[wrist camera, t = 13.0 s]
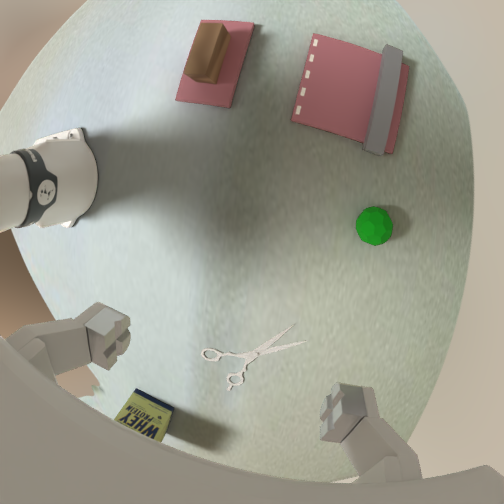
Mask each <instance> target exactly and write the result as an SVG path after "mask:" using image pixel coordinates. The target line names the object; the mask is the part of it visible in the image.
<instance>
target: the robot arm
mask: <svg viewBox="0 0 504 504" xmlns="http://www.w3.org/2000/svg"><path fill="white" fill-rule="evenodd" d="M72 135H73V136H72ZM97 181H98V173H97V165H96V161H95V158H94V155H93V153H92V151H91V149H90V148H89V147H88V145H87V144H86V142H85V139H84V135H83V132H82V130H81V128H74V129H71V130H67V131H63V132H60V133H56V134H53V135H49V136H46V137H43V138H40V139H37V140H36V141H35V144H34V146H31V147H28V148H26V149H19V150H16V151H13V152H11V153H10V154H6V155H0V233H1V232H3V231H6V230H8V229H11V228H13V227H15V228H21V227H27V226H30V225H31V224H34V223H35V224H36V225H38V226H39V227H40V228H45V227H49V226H53V225H57V224H61V225H63V226H64V227H65V228H70V227H72V226H73V224H74V223H75V221H76V219H77V218H78V217H79V216H81V215H82V214H84V213H85V212H86V211H87V210H88V209H89V207H90V206H91V204H92V202H93V200H94V197H95V194H96V189H97ZM129 326H130V318H129V317H128V316H127V315H125V314H123V313H121V312H119V311H117V310H115V309H113V308H111V307H108V306H106V305H104V304H102V303H100V302H96V303H95V304H93V305H92V306H91V307H89V308H88V309H87V310H85V311H84V312H83V313H82V314H80V315H79V316H78V317H76V318H75V319H74V320H73V319H72V318H69V319H63V320H57V321H50V322H44V323H38V324H31V325H24V326H23V327H21V328H20V329H18V330H17V331H16V332H14V333H13V334H11V335H10V336H9V337H8V338H6V339H4V338H3V337H1V336H0V504H504V477H503V476H502V475H501V474H500V473H498V472H497V471H496V470H494V469H493V468H492V467H490V466H488V465H483V466H479V467H476V468H472V469H469V470H465V471H461V472H457V473H452V474H447V475H443V476H437V477H432V478H425V479H422V474H421V469H420V464H419V460H418V456H417V454H416V453H415V452H414V451H413V450H412V449H411V447H410V446H409V445H408V444H407V443H406V442H405V441H404V440H403V439H402V438H401V437H400V436H399V435H398V434H397V433H396V432H395V431H394V429H393V428H392V427H391V426H390V425H389V424H388V423H387V422H386V421H385V420H384V419H383V418H380V415H379V411H378V406H377V402H376V398H375V393H374V389H373V388H372V387H364V386H357V385H351V384H345V383H339V382H336V383H335V384H334V386H333V387H332V389H331V390H332V394H330V395H328V396H326V398H325V399H324V401H323V404H322V406H321V411H320V419H321V420H322V421H323V424H322V425H321V426H320V440H322V441H328V442H335V443H340V445H341V447H342V448H343V450H344V452H345V454H346V455H347V457H348V458H349V460H350V462H351V463H352V465H353V467H354V468H355V470H356V472H357V473H358V475H359V478H358V479H356V480H355V481H354V482H352V483H328V482H315V481H305V480H297V479H289V478H283V477H277V476H271V475H265V474H260V473H256V472H251V471H247V470H242V469H238V468H234V467H231V466H227V465H223V464H220V463H216V462H213V461H210V460H207V459H204V458H200V457H197V456H195V455H192V454H189V453H186V452H183V451H181V450H178V449H175V448H173V447H170V446H168V445H165V444H163V443H161V442H158V441H156V440H154V439H151V438H149V437H147V436H145V435H143V434H141V433H138V432H136V431H134V430H132V429H130V428H128V427H126V426H124V425H122V424H120V423H119V422H117V421H115V420H113V419H111V418H109V417H108V416H106V415H104V414H102V413H101V412H99V411H97V410H96V409H94V408H92V407H91V406H89V405H87V404H86V403H84V402H83V401H81V400H80V399H78V398H77V397H75V396H74V395H72V394H71V393H69V392H68V391H66V390H65V389H63V388H62V387H61V386H59V385H58V383H57V380H56V377H55V376H56V375H59V374H62V373H64V372H67V371H70V370H73V369H76V368H78V367H81V366H84V365H87V364H89V363H91V362H93V363H95V364H97V365H99V366H101V367H103V368H104V369H106V370H108V371H109V370H110V368H111V367H112V366H113V365H114V364H115V363H116V362H117V356H118V355H122V354H124V352H125V351H126V350H127V348H128V346H129V344H130V332H129V330H128V327H129Z"/></svg>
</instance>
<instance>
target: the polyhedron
mask: <svg viewBox="0 0 504 504" xmlns="http://www.w3.org/2000/svg"><path fill="white" fill-rule="evenodd" d="M392 229H393V223H392V221H391V219H390V217H389V215H388V214H387V212H386V211H385V210H383V209H381V208H378V207H374V206H373V207H369V208H366V209H365V210H364V211H363V212H362V213H361V214H360V215H359V217H358V218H357V220H356V230H357V232H358V235H359V236H360V238H361V240H362V241H364V242H367V243H369V244H372V245H374V246H376V245H380V244H383V243H385V242H386V241H387V240H388V239H389V238H390V237H391V234H392Z"/></svg>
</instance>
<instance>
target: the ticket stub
mask: <svg viewBox="0 0 504 504" xmlns="http://www.w3.org/2000/svg"><path fill="white" fill-rule="evenodd" d="M254 27H255V25H254V23H251V22H239V21H223V20H201V22H200V25H199V27H198V30H197V33H196V36H195V38H194V41H193V44H192V47H191V50H190V53H189V56H188V59H187V62H186V65H185V68H184V71H183V75H182V78H181V81H180V85H179V88H178V92H177V95H176V99H175V100H176V101H180V102H189V103H198V104H205V105H213V106H219V107H226V108H230V107H231V103H232V100H233V96H234V92H235V89H236V85H237V82H238V78H239V75H240V71H241V68H242V65H243V61H244V58H245V55H246V51H247V48H248V45H249V42H250V39H251V36H252V33H253V30H254Z"/></svg>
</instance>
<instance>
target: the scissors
mask: <svg viewBox="0 0 504 504" xmlns="http://www.w3.org/2000/svg"><path fill="white" fill-rule="evenodd" d="M292 326H293V325H292ZM292 326H290V327H289V328H287V329H286V330H284V331H283V332H281V333H279V334H278V335H276V336H275V337H273V338H272V339H270V340H268V341H267V342H265V343H264V344H262V345H261V346H259V347H258V348H256V349H255V350H253V351H248V352H244V353H238V354H235V353H231V352H227V353H222V352H220V351H218V350H216V349H213V348H205V349H203V350H202V352H201V356H202V357H203V358H204V359H206V360H208V361H218V360H219V358H220V357H221V356H225V355H231V356H237V357H240V358H246V361H245V364H244V367H243V369H242V370H241V371H239V372H237V373H229V374H228V376H227V381H228V383H229V384H230V385H229V387H228V388H227V390H228V391H230V390H231V387H232V386H233V385H234V386H237V385H240V384H242V383H243V380H244V378H243V376H242V373H243V372H244V371H246V365H247V364H249V363H250V362H252V361H253V360H254V359H255V358H257V357H258V356H260V355H264V354H268V353H272V352H275V351H279V350H282V349H285V348H288V347H291V346H295V345H298V344H301V343H303V342H306V341H302V342H297V343H291V344H286V345H281V346H276V347H271V348H269V349H267V348H268V347H270V346H271V345H272V344H273V343H274V342H275V341H277V340H278V339H279V338H280V337H281V336H282V335H283V334H284V333H286V332H287V331H288V330H289V329H290V328H291V327H292ZM307 341H308V340H307ZM266 349H267V350H266ZM207 350H211V351H214V352H216V353H217V355H218V356H217V357H216V358H207V357H206V356H205V355H204V351H207ZM234 375H235V376H239V377H240V378H241V381H240V382H238V383H232V382H231V381H230V380H229V378H230V377H231V376H234Z"/></svg>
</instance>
